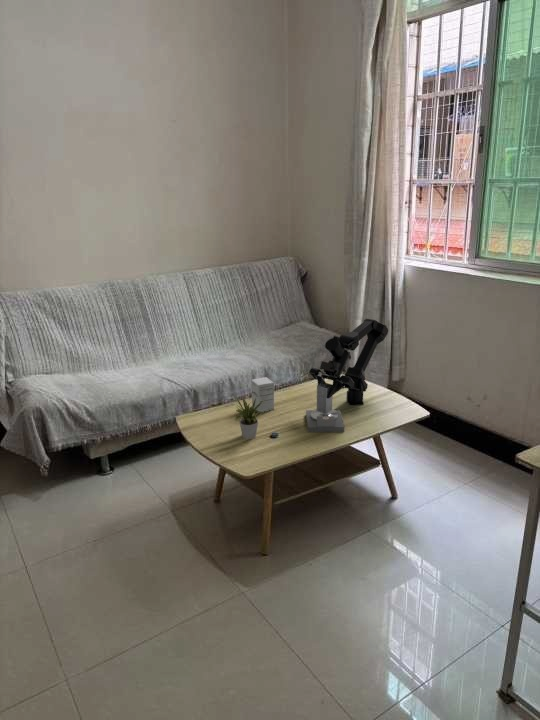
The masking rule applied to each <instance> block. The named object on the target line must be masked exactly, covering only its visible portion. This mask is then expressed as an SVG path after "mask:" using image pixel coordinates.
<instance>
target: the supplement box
mask: <svg viewBox="0 0 540 720" xmlns="http://www.w3.org/2000/svg"><path fill="white" fill-rule="evenodd" d="M274 384H275V383H274V381H272V380H271V379H270V378H268V377H267V376H265V377H259V378H253V379H251V406H253V403H254V401H255V398H256V401H255V405H254V408H255V407H256V406H257V405H258V404H259V403H260V402H262V401H264V400H265V401H264V402H262V403H261V404H260V406H259V407H258V408H257V409H256V410H255V411H261V412H260V413H264V411H265V412H269V410H270V411H274V410H275V390H274V389H275V386H274Z"/></svg>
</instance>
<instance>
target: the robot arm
mask: <svg viewBox="0 0 540 720" xmlns="http://www.w3.org/2000/svg"><path fill="white" fill-rule="evenodd" d="M388 333H389V328H388V327H387V325H386V324H383V323H382V322H381V323H380V322H378V321H377V320H376V319H372V318H364V320H363V321H362V323H360V324H359V325H358V326H357V327H355V328H354V329H353V330H352V331H348V332H345V333H343V334H341V335H340V336H336V335H333V337H332V338H330V339H328V340H326V342H325V344H324V347H325V349H326V350H327V352H328V353H329V354H330V356H331V357H332V359H331V360H329V361H328V362H326V361H321V362H320V367H319V368H315V367H311V368H310V369H309V370H308V374H309V375H310V376H311V377H312V379H314V380H315V381H316V380H317V385H319V384H321V383H323V382H324V383H327V382H326V381H325V380H329V381H332V387H331V389H330V391H329V393H328V396H327V398H328V399H329V398H330V397H331V396H334V395H335V394H337V393H338V392H340V391H341V390H343V389H346V390H347V391H346V402H347V403H348V405H349V406H350V405H354V406H355V405H364V392H367V389H368V383H367V382H366V381H365V380H366V374H365V371H366V369H367V367H368V365H369V362H370V361H371V359H372V356H373V355H374V352H375V350H376V348H377V346H378V344H380V343H382V342H383V341H384V340H385V339H386V337H387V335H388ZM365 336H366V337H367V339H366V341H365V343H364V345H363V347H362V349H361V352H360V353H359V355H358V357H357V360H356V361H355V364H354V365H353V366H352V367H351V366H348V368H347V370H346V369H345V366H346V365H347V362H348V360H352V356H351V352H350V351H353V352H354V351H355V350H356V349H357V348H358V347H359V345H360V341H362V339H363V338H364V337H365ZM321 370H323V372H322V371H321ZM345 371H346V372H345ZM343 372H345V373H344V374H342V373H343Z"/></svg>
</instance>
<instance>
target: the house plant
mask: <svg viewBox="0 0 540 720" xmlns="http://www.w3.org/2000/svg"><path fill="white" fill-rule="evenodd" d="M232 398H233V399H235V400H236V401H237V403H238V404H234V403H231V404H230V406H236V407H237V409H236V410H235V412H236V413H238V414H240V415H237V414H235V416H236V417H235V420H238V419H240V420H239V425H240V431H241V435H242V438H243V439H245V440H252V439H255V438H256V437H257V430H258V426H259V425H258V424H259V420H258V419H257V417H258V416H259V415H261V414H262V412H261V411H257V410H256V409H257V408H258V407H259V406H260V404H261V403H262V402H264V401H265V400H264V401H262V402H260V403H259V404H258V405H257V406H256V407H255V408H254V405H255V401H256V398H255V401H254V403H253V406H252V405H251V406H250V404H251V403H247V401H246V400H245V398H244V397H243V396H241V399H242V402H243V406H244V407H243V406H242V404H241V402H240V400H239V399H238V398H236V397H234V396H232ZM250 398H251V399H252V396H250V397H249V400H248V401H251V399H250ZM259 412H260V413H259ZM242 417H243V418H242Z"/></svg>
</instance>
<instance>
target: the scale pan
mask: <svg viewBox="0 0 540 720" xmlns="http://www.w3.org/2000/svg"><path fill="white" fill-rule="evenodd" d="M335 410H336V409H334V408H332V411H330V412H328V413H327V414H324V413H321V412H318V411H317V408H314V409H312V411H311V418H312V419H313V420H315V421H317V416H335V420H336V419H337V418H338V412H337V411H335Z"/></svg>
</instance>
